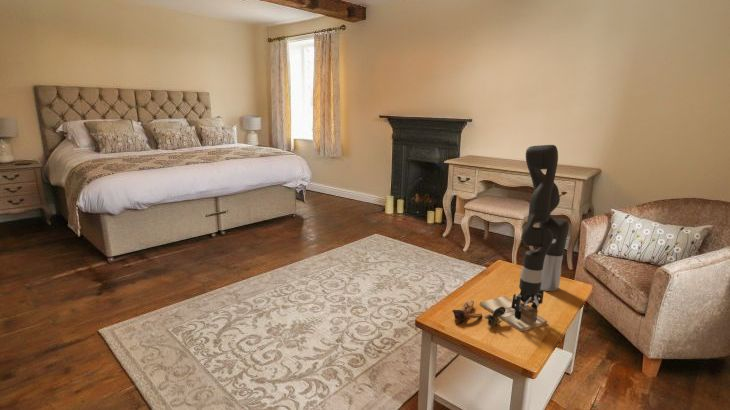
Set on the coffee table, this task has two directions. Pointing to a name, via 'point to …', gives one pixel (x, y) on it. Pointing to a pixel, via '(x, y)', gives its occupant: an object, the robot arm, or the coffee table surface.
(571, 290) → the coffee table surface
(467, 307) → the lashed bone hook
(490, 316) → the eagle figurine
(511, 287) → the coffee table surface
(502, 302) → the birch board
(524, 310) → the block
